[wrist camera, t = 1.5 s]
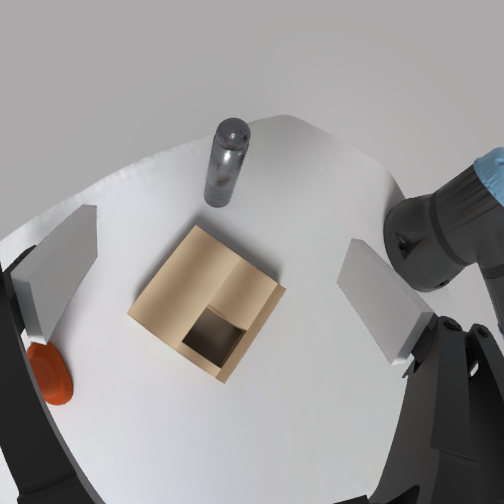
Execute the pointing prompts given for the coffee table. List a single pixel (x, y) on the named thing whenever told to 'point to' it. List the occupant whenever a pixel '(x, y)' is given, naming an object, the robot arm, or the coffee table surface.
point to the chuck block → (207, 303)
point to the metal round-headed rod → (226, 161)
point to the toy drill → (50, 373)
